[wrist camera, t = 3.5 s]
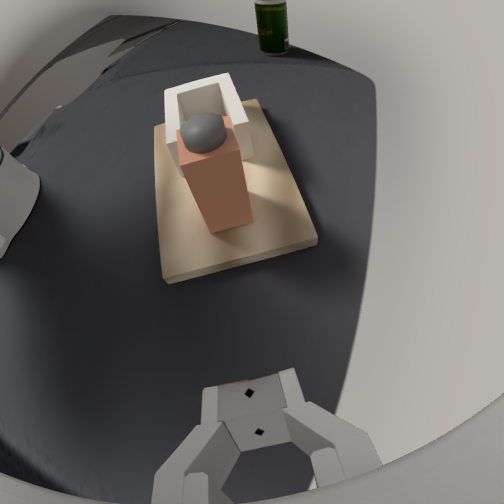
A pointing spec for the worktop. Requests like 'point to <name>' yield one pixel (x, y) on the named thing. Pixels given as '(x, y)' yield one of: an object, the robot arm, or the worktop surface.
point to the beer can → (272, 26)
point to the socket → (206, 110)
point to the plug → (214, 170)
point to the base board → (237, 238)
